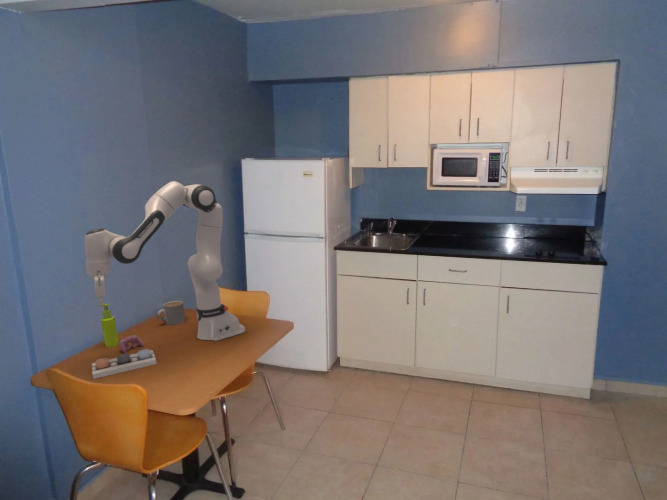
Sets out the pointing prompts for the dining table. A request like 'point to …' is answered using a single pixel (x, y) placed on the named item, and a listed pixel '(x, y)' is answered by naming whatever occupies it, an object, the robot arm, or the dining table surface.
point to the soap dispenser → (109, 328)
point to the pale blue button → (144, 354)
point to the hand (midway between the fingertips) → (101, 301)
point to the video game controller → (134, 339)
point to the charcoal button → (123, 359)
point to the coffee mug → (172, 313)
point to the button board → (124, 367)
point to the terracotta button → (102, 363)
